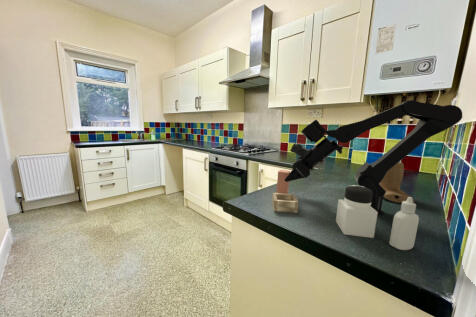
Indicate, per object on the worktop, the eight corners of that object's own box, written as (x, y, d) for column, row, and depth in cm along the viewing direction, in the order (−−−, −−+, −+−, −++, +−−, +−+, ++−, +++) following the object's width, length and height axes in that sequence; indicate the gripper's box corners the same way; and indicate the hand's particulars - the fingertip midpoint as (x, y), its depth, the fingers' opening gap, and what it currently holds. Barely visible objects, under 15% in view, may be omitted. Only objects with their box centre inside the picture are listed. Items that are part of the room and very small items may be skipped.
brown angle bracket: (368, 189, 88) (373, 157, 85) (401, 194, 83) (407, 160, 80) (374, 200, 74) (380, 162, 72) (414, 206, 69) (421, 166, 67)
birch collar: (293, 203, 69) (294, 194, 68) (297, 212, 61) (298, 202, 60) (272, 202, 69) (272, 192, 69) (273, 210, 62) (274, 200, 61)
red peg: (288, 194, 78) (290, 170, 76) (286, 197, 74) (288, 172, 73) (278, 192, 79) (280, 169, 78) (276, 195, 76) (278, 171, 74)
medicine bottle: (374, 238, 48) (381, 193, 46) (343, 234, 49) (349, 190, 47) (362, 224, 54) (367, 184, 53) (335, 221, 56) (340, 182, 54)
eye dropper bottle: (382, 238, 48) (390, 193, 46) (408, 241, 47) (417, 195, 45) (393, 249, 43) (402, 199, 41) (421, 253, 42) (432, 202, 40)
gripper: (306, 135, 79) (278, 159, 85) (302, 136, 62) (267, 166, 68) (325, 155, 77) (295, 178, 83) (326, 162, 60) (288, 191, 66)
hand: (287, 178), depth 75 cm, fingers open, 9 cm apart
